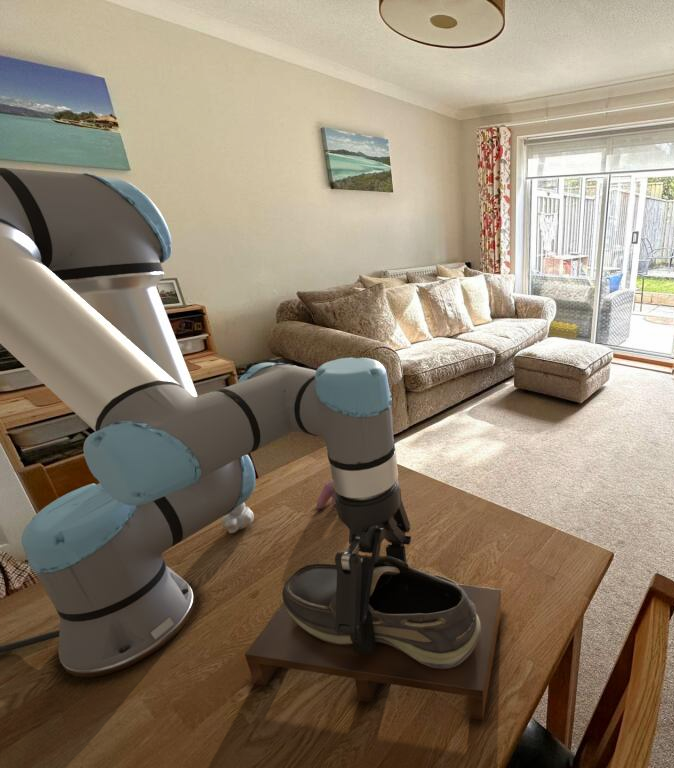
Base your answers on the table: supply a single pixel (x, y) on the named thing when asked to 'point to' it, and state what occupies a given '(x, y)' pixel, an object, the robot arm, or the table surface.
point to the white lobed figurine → (238, 518)
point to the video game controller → (326, 494)
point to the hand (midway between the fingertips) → (383, 611)
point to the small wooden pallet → (380, 657)
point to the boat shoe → (392, 610)
